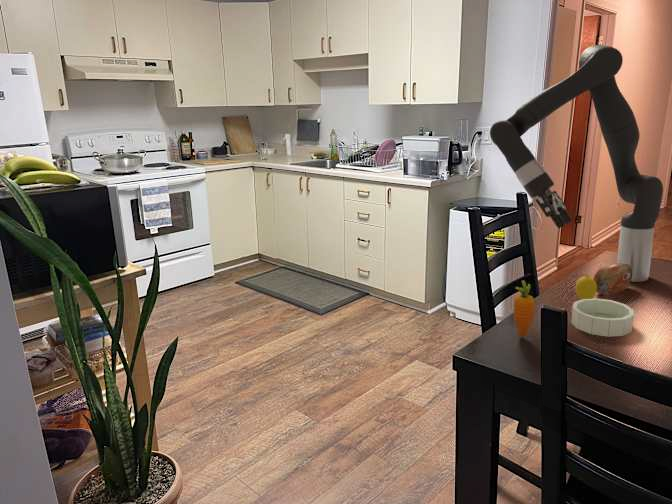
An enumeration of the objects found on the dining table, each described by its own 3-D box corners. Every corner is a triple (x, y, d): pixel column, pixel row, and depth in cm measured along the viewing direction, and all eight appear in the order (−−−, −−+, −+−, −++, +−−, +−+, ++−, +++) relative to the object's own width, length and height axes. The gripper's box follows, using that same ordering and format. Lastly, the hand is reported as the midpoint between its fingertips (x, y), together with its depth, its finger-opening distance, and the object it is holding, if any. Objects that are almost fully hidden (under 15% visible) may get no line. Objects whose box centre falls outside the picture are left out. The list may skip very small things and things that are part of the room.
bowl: (592, 309, 142) (593, 294, 141) (643, 326, 131) (645, 310, 130) (560, 322, 136) (561, 307, 134) (610, 341, 124) (612, 324, 123)
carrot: (530, 343, 125) (533, 286, 121) (509, 339, 128) (512, 284, 124) (534, 335, 129) (538, 280, 125) (514, 332, 132) (517, 277, 128)
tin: (599, 298, 150) (602, 271, 148) (590, 295, 153) (592, 268, 151) (631, 287, 157) (634, 261, 154) (622, 285, 159) (624, 259, 157)
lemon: (597, 305, 145) (600, 278, 143) (576, 304, 147) (579, 278, 144) (592, 298, 151) (594, 272, 148) (572, 297, 152) (574, 272, 150)
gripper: (538, 173, 142) (572, 221, 139) (551, 169, 153) (583, 214, 151) (515, 188, 147) (548, 235, 144) (530, 183, 158) (560, 227, 155)
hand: (566, 224), depth 147 cm, fingers open, 8 cm apart
